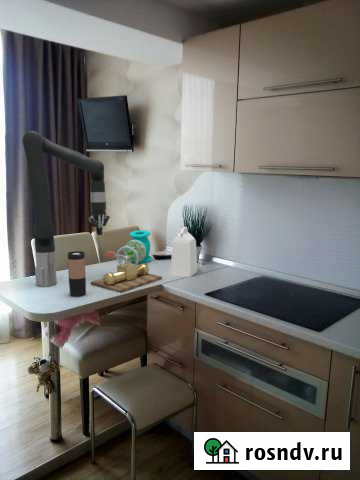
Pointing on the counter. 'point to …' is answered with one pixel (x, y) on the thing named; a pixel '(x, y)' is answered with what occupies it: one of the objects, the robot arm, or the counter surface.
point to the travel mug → (77, 273)
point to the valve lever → (116, 255)
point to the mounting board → (128, 283)
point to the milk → (184, 254)
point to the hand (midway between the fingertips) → (99, 234)
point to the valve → (137, 248)
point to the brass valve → (125, 273)
